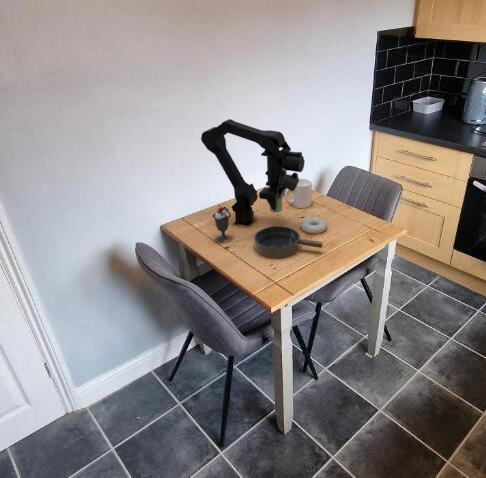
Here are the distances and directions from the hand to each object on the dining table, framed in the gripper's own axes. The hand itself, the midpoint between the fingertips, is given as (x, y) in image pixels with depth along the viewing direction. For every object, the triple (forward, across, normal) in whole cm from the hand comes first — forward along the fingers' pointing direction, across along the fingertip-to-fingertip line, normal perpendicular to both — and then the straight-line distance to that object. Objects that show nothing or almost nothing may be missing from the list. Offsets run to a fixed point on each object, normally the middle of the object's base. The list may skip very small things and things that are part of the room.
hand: (276, 207), depth 162 cm
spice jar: (+1, 0, 0) cm, 1 cm away
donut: (+9, +3, -14) cm, 17 cm away
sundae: (+9, -14, +16) cm, 23 cm away
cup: (+9, +22, -2) cm, 24 cm away
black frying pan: (+9, -14, -5) cm, 17 cm away
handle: (+6, -14, -17) cm, 23 cm away
